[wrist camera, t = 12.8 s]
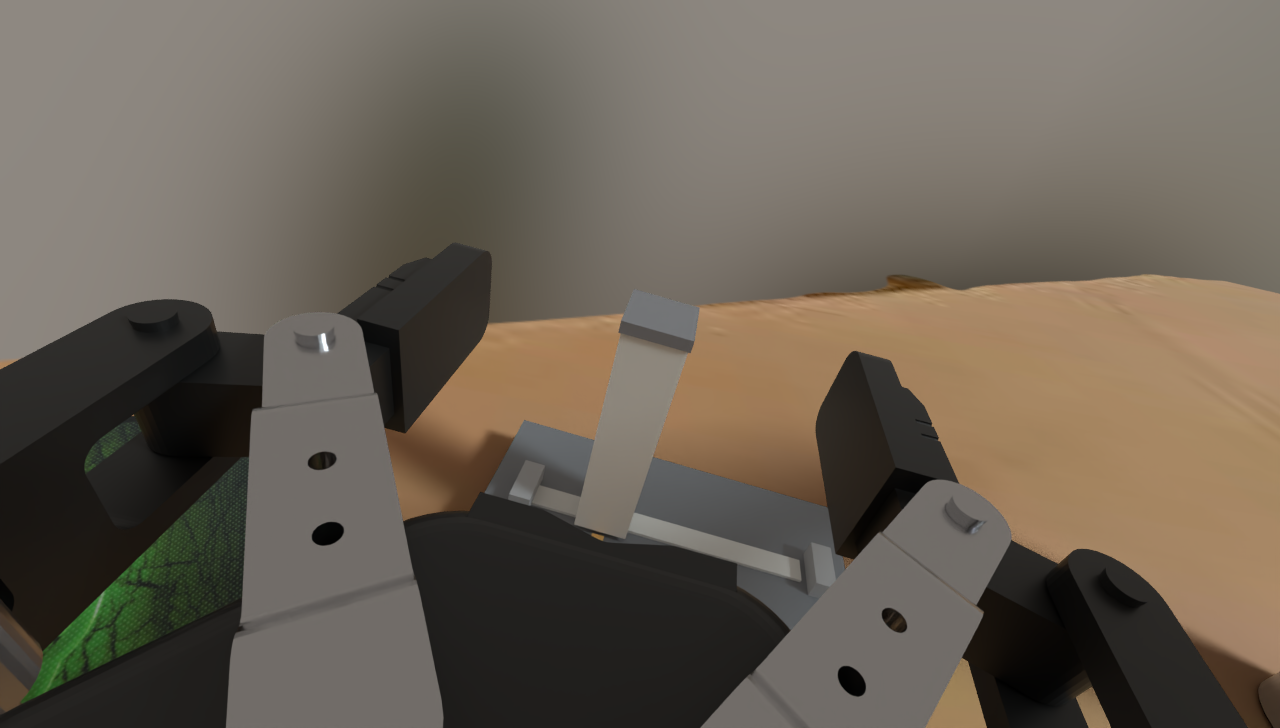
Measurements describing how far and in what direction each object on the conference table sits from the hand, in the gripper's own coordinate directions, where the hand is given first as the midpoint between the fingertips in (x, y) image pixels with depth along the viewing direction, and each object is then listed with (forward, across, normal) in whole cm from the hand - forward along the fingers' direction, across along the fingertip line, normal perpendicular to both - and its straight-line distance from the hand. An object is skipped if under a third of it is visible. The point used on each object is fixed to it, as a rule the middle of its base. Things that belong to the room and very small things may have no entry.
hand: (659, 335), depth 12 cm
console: (+11, -4, +22) cm, 25 cm away
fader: (+11, 0, +19) cm, 22 cm away
